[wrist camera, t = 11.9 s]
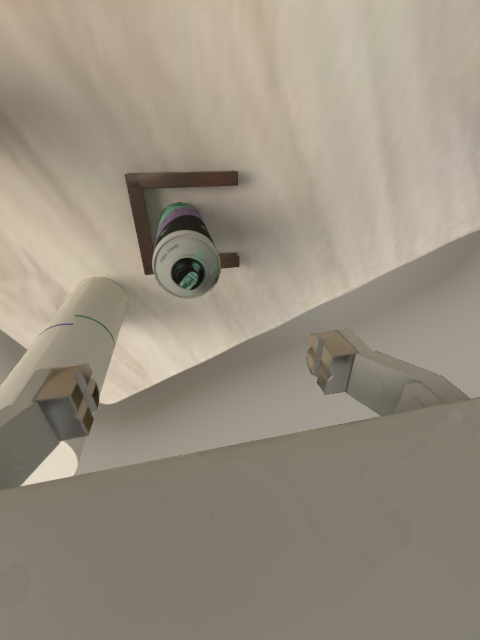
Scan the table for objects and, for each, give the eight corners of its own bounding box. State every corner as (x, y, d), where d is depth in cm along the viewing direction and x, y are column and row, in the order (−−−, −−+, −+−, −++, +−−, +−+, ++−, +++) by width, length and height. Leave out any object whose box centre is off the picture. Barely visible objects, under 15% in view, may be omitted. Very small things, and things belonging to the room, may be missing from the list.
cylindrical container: (65, 279, 37) (-78, 439, 16) (121, 275, 38) (58, 418, 17) (81, 324, 41) (-19, 503, 19) (131, 319, 42) (89, 483, 21)
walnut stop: (234, 170, 35) (237, 171, 33) (236, 262, 41) (239, 266, 39) (127, 173, 32) (124, 174, 31) (146, 270, 39) (145, 275, 37)
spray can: (204, 205, 36) (232, 247, 19) (199, 247, 39) (221, 315, 22) (161, 198, 35) (150, 236, 18) (159, 241, 37) (148, 311, 20)
